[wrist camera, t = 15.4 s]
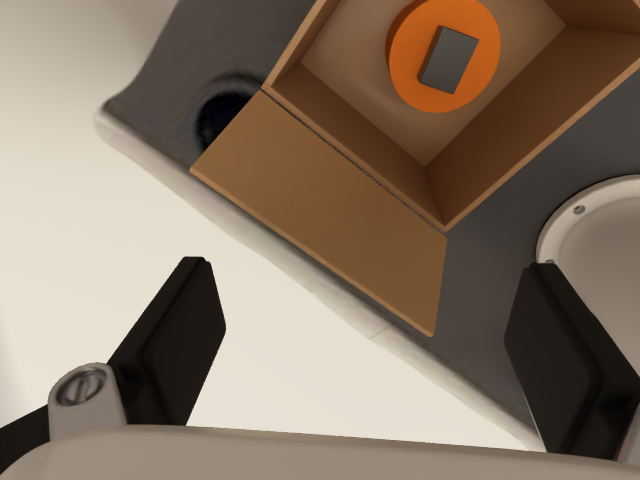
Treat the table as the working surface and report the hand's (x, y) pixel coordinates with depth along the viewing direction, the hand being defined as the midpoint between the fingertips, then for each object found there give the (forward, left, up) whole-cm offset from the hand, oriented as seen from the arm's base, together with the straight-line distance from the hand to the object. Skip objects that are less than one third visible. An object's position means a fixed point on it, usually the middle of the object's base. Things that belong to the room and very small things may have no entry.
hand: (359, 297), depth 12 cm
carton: (0, -7, -22) cm, 23 cm away
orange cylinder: (0, -7, -22) cm, 23 cm away
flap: (0, +1, -8) cm, 8 cm away
